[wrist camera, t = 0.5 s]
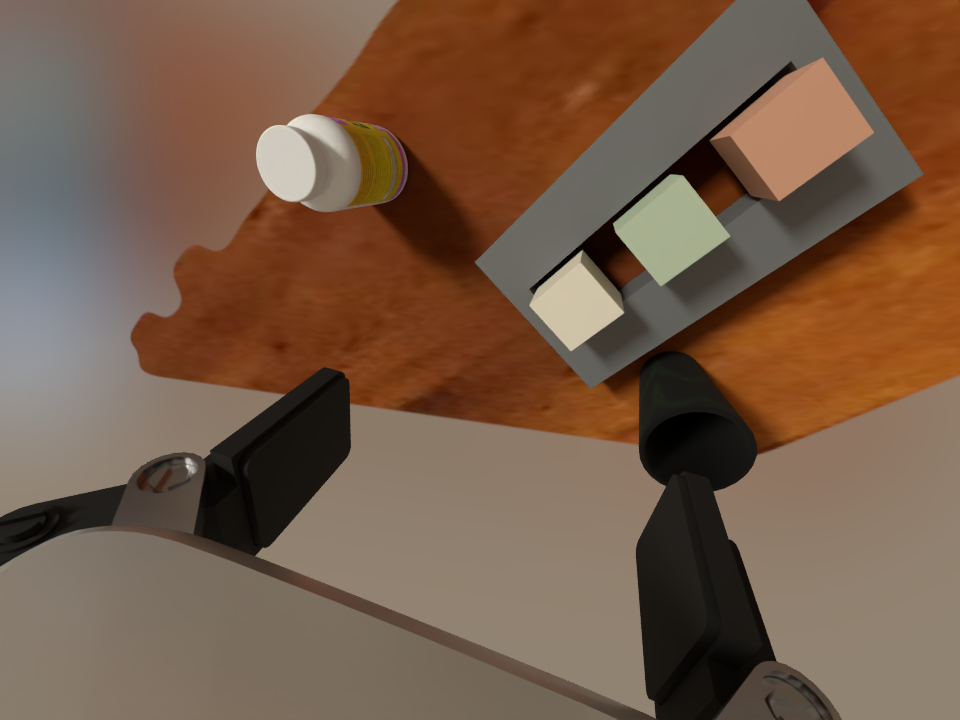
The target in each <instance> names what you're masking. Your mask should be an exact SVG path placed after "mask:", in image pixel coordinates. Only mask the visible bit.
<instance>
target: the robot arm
mask: <svg viewBox="0 0 960 720" xmlns="http://www.w3.org/2000/svg"><path fill="white" fill-rule="evenodd" d="M350 448H351V435H350V392H349V380H348V379H347V378H345V375H344V373H343V372H340V371H337V370H333V369H330V368H322V369H320V370H319V371H318V372H316V373H315V374H314V375H312V376H311V377H309V378H308V379H307V380H305V381H304V382H303V383H301V384H300V385H299V386H297V387H296V388H294V389H293V390H292V391H290V392H289V393H288V394H286V395H285V396H284V397H282V398H281V399H280V400H278V401H277V402H275V403H274V404H273V405H271V406H270V407H269V408H267V409H266V410H265V411H263V412H262V413H260V414H259V415H258V416H256V417H255V418H254V419H252V420H251V421H250V422H249V423H247V424H246V425H244V426H243V427H241V428H240V429H239V430H237V431H236V432H235V433H233V434H232V435H231V436H229V437H228V438H226V439H225V440H224V441H222V442H221V443H220V444H218V445H217V446H216V447H214V448H213V449H212V450H210V452H211V454H210V455H208V456H207V457H206V458H204V459H203V458H202V457H201V456H199V455H196V454H194V453H187V452H182V453H172V454H168V455H163V456H160V457H158V458H155V459H153V460H151V461H149V462H147V463H146V464H144V465H142V466H141V467H140V468H139V469H138V470H136V471H135V472H134V473H133V474H132V476H131V478H130V479H129V481H128V483H127V484H125V485H120V486H115V487H111V488H106V489H102V490H97V491H93V492H88V493H83V494H78V495H74V496H69V497H65V498H60V499H55V500H51V501H46V502H42V503H37V504H33V505H30V506H26V507H23V508H20V509H17V510H15V511H13V512H10V513H8V514H6V515H4V516H2V517H0V720H842V719H841V717H840V715H839V713H838V712H837V710H836V709H835V708H834V706H833V705H832V703H831V702H830V700H829V699H828V698H827V697H826V696H825V694H824V693H822V691H821V690H820V689H819V688H818V687H817V686H816V685H815V684H814V683H813V682H812V681H810V680H809V679H808V678H807V677H805V676H804V675H803V674H801V673H800V672H799V671H797V670H795V669H793V668H791V667H789V666H788V665H786V664H782V663H779V662H777V661H776V658H775V655H774V652H773V649H772V646H771V643H770V640H769V638H768V635H767V632H766V629H765V626H764V623H763V620H762V617H761V614H760V611H759V608H758V605H757V602H756V599H755V596H754V593H753V591H752V588H751V584H750V582H749V579H748V576H747V573H746V570H745V567H744V564H743V561H742V558H741V555H740V552H739V550H738V547H737V545H736V544H735V543H734V542H733V541H732V540H729V539H728V536H727V533H726V530H725V527H724V524H723V520H722V517H721V514H720V511H719V508H718V505H717V502H716V499H715V496H714V493H713V489H712V486H711V483H710V481H709V479H708V478H706V477H703V476H699V475H696V474H692V473H689V472H685V471H684V472H682V473H681V474H680V475H675V474H674V475H673V476H672V477H671V478H670V480H669V482H668V484H667V486H666V488H665V490H664V492H663V494H662V496H661V498H660V500H659V502H658V503H657V505H656V507H655V509H654V511H653V513H652V515H651V517H650V519H649V521H648V523H647V525H646V527H645V529H644V530H643V532H642V534H641V536H640V538H639V540H638V543H637V547H636V563H637V575H638V589H639V602H640V614H641V615H640V616H641V629H642V642H643V656H644V669H645V682H646V692H647V696H648V698H649V699H651V700H653V701H655V713H656V719H655V718H653V717H651V716H649V715H647V714H645V713H643V712H640V711H638V710H635V709H633V708H631V707H628V706H626V705H624V704H621V703H619V702H617V701H614V700H612V699H610V698H607V697H605V696H602V695H600V694H598V693H595V692H593V691H591V690H588V689H586V688H584V687H581V686H579V685H577V684H574V683H572V682H569V681H567V680H565V679H562V678H560V677H557V676H555V675H552V674H550V673H547V672H545V671H542V670H540V669H537V668H535V667H532V666H530V665H527V664H525V663H523V662H520V661H518V660H515V659H513V658H510V657H508V656H505V655H503V654H500V653H498V652H495V651H493V650H490V649H488V648H485V647H483V646H481V645H478V644H476V643H473V642H471V641H468V640H466V639H463V638H461V637H458V636H455V635H453V634H451V633H448V632H446V631H443V630H441V629H438V628H436V627H433V626H431V625H428V624H425V623H423V622H421V621H418V620H415V619H413V618H410V617H408V616H406V615H403V614H401V613H398V612H395V611H393V610H390V609H388V608H385V607H383V606H380V605H378V604H375V603H373V602H370V601H368V600H365V599H363V598H360V597H358V596H355V595H353V594H350V593H347V592H345V591H343V590H340V589H338V588H335V587H332V586H330V585H327V584H325V583H322V582H320V581H317V580H315V579H312V578H309V577H307V576H304V575H302V574H299V573H297V572H294V571H292V570H289V569H286V568H284V567H281V566H279V565H276V564H274V563H271V562H269V561H266V560H264V559H261V558H258V557H255V556H256V554H257V553H258V552H259V551H260V550H261V549H262V548H267V547H268V546H270V545H271V544H272V543H273V542H274V541H275V540H276V538H277V537H278V536H279V535H280V534H281V533H282V532H283V530H284V529H285V528H286V527H287V526H288V525H289V523H290V522H291V521H292V520H293V519H294V517H295V516H296V515H297V514H298V513H299V512H300V511H301V510H302V508H303V507H304V506H305V505H306V504H307V503H308V502H309V501H310V499H311V498H312V497H313V496H314V495H315V494H316V492H317V491H318V490H319V489H320V488H321V486H323V484H324V483H325V482H326V481H327V480H328V479H329V478H330V476H331V475H332V474H333V473H334V472H335V470H336V469H337V468H338V467H339V466H340V465H341V464H342V463H343V461H344V460H345V459H346V458H347V456H348V454H349V452H350Z"/></svg>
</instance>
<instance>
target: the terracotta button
mask: <svg viewBox="0 0 960 720" xmlns="http://www.w3.org/2000/svg"><path fill="white" fill-rule="evenodd" d="M873 133H874V131H873V130H872V128H871V127H870V126H869V124H868V123H867V121H866V120H865V118H864V117H863V115H862V114H861V112H860V111H859V109H858V108H857V107H856V105H855V104H854V102H853V101H852V99H851V98H850V96H849V95H848V93H847V92H846V90H845V89H844V87H843V86H842V85H841V83H840V82H839V80H838V79H837V77H836V76H835V74H834V73H833V71H832V70H831V68H830V67H829V65H828V64H827V63H826V61H825V60H824V58H821V59H818V60H816V61H814V62H812V63H810V64H808V65H806V66H804V67H802V68H800V69H798V70H796V71H794V72H792V73H790V74H788V75H786V76H784V77H783V78H782V79H780V80H779V81H778V82H777V83H776V84H775V85H773V86H772V87H771V88H770V89H769V90H768V91H766V92H765V93H764V94H763V95H762V96H761V97H759V98H758V99H757V100H756V101H755V102H754V103H753V104H751V105H750V106H749V107H748V108H747V109H746V110H744V111H743V112H742V113H741V114H740V115H739V116H737V117H736V118H735V119H734V120H733V121H732V122H730V123H729V124H728V125H727V126H726V127H725V128H723V129H722V130H721V131H720V132H719V133H718V134H716V135H715V136H714V137H713V138H712V139H711V140H710V142H711V144H712V145H713V146H714V148H715V149H716V150H717V152H718V153H719V154H720V156H721V157H722V158H723V159H724V161H725V162H726V163H727V165H728V166H729V167H730V169H731V170H732V171H733V173H734V174H735V175H736V177H737V178H738V179H739V180H740V182H741V183H742V184H743V186H744V187H745V188H746V190H747V191H748V192H749V194H750V195H751V196H754V197H759V198H764V199H770V200H775V201H780V200H782V199H783V198H784V197H786V196H787V195H789V194H790V193H791V192H793V191H794V190H796V189H797V188H798V187H800V186H801V185H802V184H804V183H805V182H807V181H808V180H809V179H811V178H812V177H814V176H815V175H816V174H818V173H819V172H820V171H822V170H823V169H825V168H826V167H827V166H829V165H830V164H832V163H833V162H834V161H836V160H837V159H839V158H840V157H841V156H843V155H844V154H845V153H847V152H848V151H850V150H851V149H852V148H854V147H855V146H857V145H858V144H859V143H861V142H862V141H863V140H865V139H866V138H868V137H869V136H870V135H872V134H873Z"/></svg>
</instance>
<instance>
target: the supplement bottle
mask: <svg viewBox="0 0 960 720" xmlns="http://www.w3.org/2000/svg"><path fill="white" fill-rule="evenodd" d="M256 158H257V165H258V169H259V172H260V175H261V177H262V179H263V181H264V183H265V184H266V185H267V187H268V188H269V189H270V190H271V191H272V192H273V193H274V194H275V195H276V196H278V197H279V198H281V199H283V200H286V201H290V202H301V203H302V204H304V205H305V206H307V207H309V208H311V209H313V210H316V211H321V212H333V211H339V210H344V209H350V208H356V207H363V206H370V205H376V204H382V203H386V202H389V201H391V200H393V199H394V198H396V197H397V196H398V195H399V194H400V193H401V191H402V190H403V188H404V186H405V184H406V180H407V175H408V162H407V158H406V154H405V151H404V149H403V147H402V145H401V143H400V142H399V140H398V139H397V138H396V137H395V136H394V135H393V134H392V133H391V132H389V131H388V130H386V129H385V128H382V127H380V126H376V125H372V124H366V123H361V122H355V121H349V120H344V119H338V118H332V117H327V116H322V115H315V114H308V115H302V116H299V117H297V118H295V119H294V120H292V121H291V122H290V123H289V124H288V125H287V126H284V125H276V126H272V127H270V128H268V129H267V130H266V131H265V132H264V133H263V134H262V135H261V137H260V139H259V141H258V145H257V151H256Z"/></svg>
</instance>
